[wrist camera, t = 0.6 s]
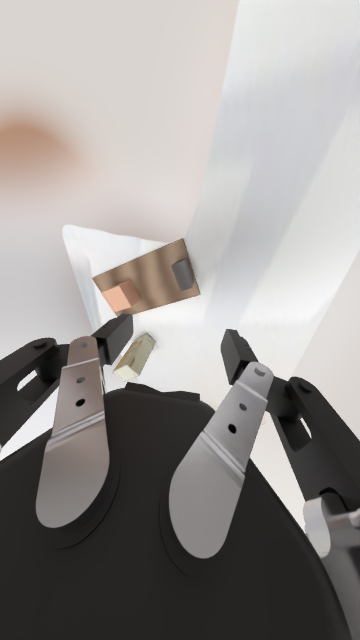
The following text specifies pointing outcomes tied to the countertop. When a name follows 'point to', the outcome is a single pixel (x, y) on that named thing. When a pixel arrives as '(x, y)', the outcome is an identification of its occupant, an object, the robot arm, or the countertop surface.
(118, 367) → the skincare box
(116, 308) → the terracotta block
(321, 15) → the countertop surface
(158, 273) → the walnut strip
